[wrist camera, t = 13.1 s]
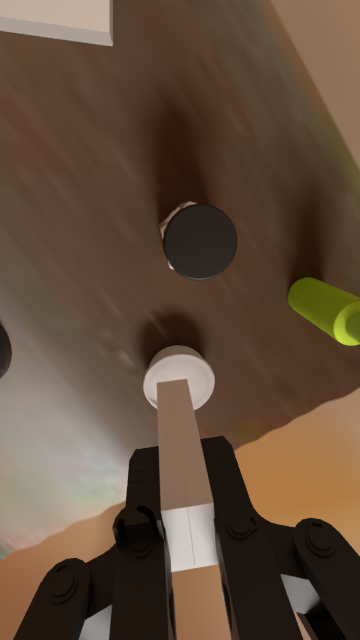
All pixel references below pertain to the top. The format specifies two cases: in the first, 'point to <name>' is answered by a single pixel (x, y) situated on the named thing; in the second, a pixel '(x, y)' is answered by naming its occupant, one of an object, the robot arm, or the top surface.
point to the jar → (198, 240)
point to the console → (60, 19)
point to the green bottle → (327, 308)
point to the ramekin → (180, 373)
